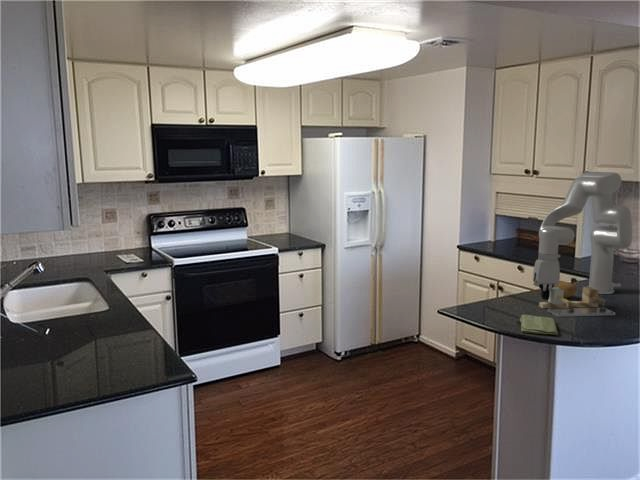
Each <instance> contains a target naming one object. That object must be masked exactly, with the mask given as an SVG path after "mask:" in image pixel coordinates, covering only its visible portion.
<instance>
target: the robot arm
mask: <svg viewBox="0 0 640 480" xmlns="http://www.w3.org/2000/svg"><path fill="white" fill-rule="evenodd" d="M621 186H622V177H621V175H620V174H619V173H617V172H611V171H610V172H609V171H607V172H605V171H604V172H603V171H585V172H582V173H581V174H580V175H579V176H578V177H575V179H573V181H572V183H571V185H570V186H569V189H568V191H567V194H566V195H565V198H564V200H563V202H562V203H561V204H560V205H558V206H557V207H555V208H554V209H553V210H552V211H550V212H549V213H548V214H547V215H546V216H545V217H544V219H543V220H542V222H541V225H540V227H539V229H538V230H539V231H538V239H539V240H538V241H539V243H538V254H537V255H538V256H537V257H538V258H537V259H536V260H535V262H534V266H533V271H532V281H533V286H534V287H538V288H539V289H540V291H541V294H540V297H541V299H542V300H543V301H548V300H549V297H550V291H551V289H552V288H553V287H554V286H558V285H559V283H558V282H559V281H561V280H560V279H561V271H560V270H561V268H560V262H559V260H558V259H559V258H561V254H559V245H561V246H562V245H563V246H567V245H569V244H571V243H573V241H574V240H575V232H574V231H573V229H572V228H570V227H565V226H558V225H556V224H557V223H559V222H560V221H562V220H564V219H567V218H570V217H573V216H578V215H579V214H580V213H582V212H583V211H584V208H585V206H586V203H587V201H588V198H590V197H591V205H592V208H591V209H592V219H593V222H594V223H595V224H598V226H595V227H593V228H592V230H591V231H590V236H589V237H590V245H591V246H590V248H591V255H590V267H589V279H588V280H589V281H588V285H587V286H585V287H593V288H596V289H598V295H612V294H614V293H615V288H621V287H622V285H621V283H615V282H613V268H614V258H615V257H614V253H613V250H612V249H611V248H614V249H615V248H616V249H628V248H630V247H631V244H632V241H633V218H632V217H633V216H632V211H631V210H630V208H629V207H628V206H626V205H619V204H618V205H617V204H614V201H613V193H616V192H617V191H618V190H619V189H620V188H621Z"/></svg>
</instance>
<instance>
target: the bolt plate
mask: <svg viewBox="0 0 640 480" xmlns="http://www.w3.org/2000/svg"><path fill="white" fill-rule="evenodd" d="M546 311H547V312H548V313H549V312H550V313H549V314H551V313H552V315H553V316H555V317H556V316H557V317H556V318H567V317H568V318H569V317H570V318H571V317H596V316H597V317H598V316H602V317H603V316H616V314H617V312H614V311H612V310H611V309H608V308H606V307H605V306H604V307H603V306H600V307H599V306H598V307H581V308H548V309H547V310H546Z"/></svg>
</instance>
